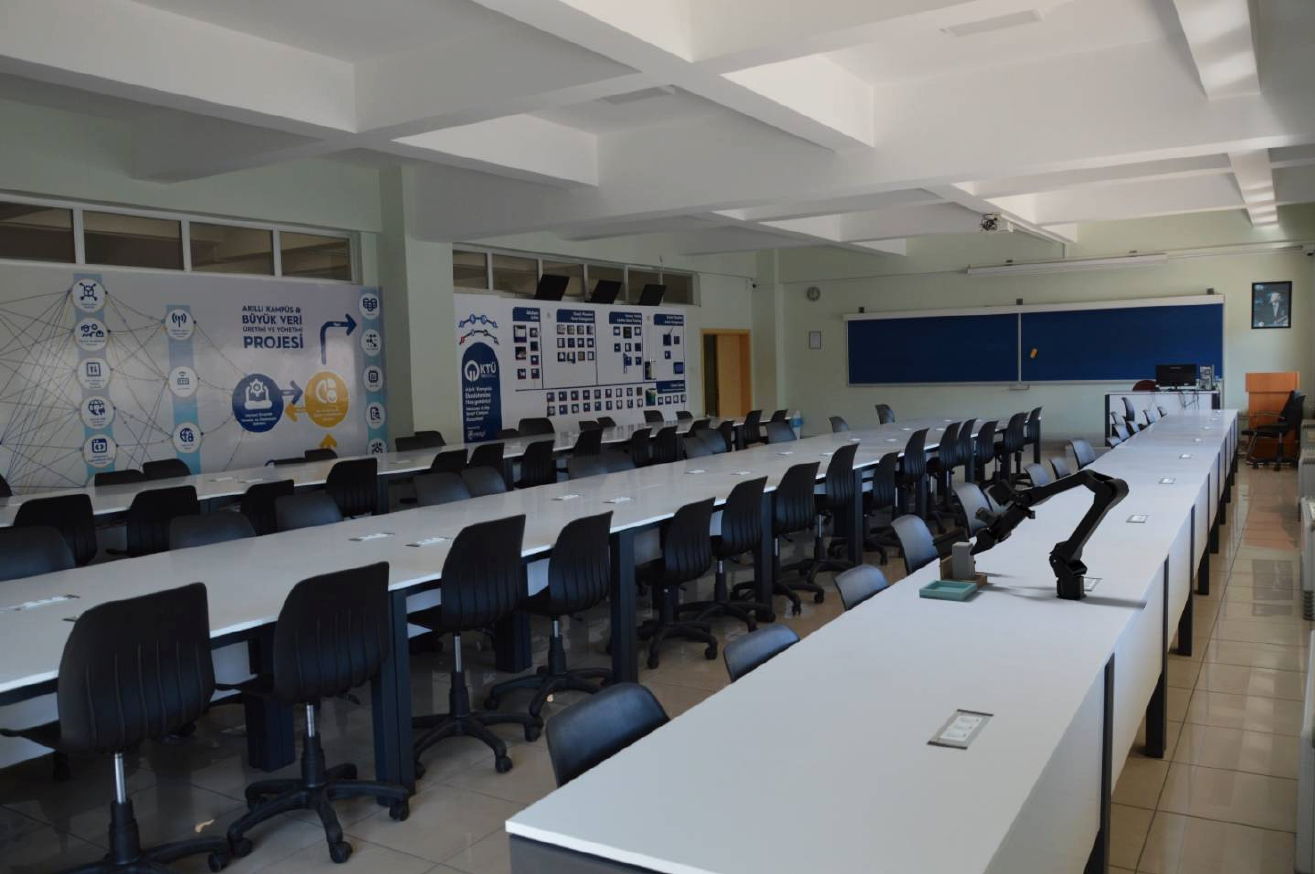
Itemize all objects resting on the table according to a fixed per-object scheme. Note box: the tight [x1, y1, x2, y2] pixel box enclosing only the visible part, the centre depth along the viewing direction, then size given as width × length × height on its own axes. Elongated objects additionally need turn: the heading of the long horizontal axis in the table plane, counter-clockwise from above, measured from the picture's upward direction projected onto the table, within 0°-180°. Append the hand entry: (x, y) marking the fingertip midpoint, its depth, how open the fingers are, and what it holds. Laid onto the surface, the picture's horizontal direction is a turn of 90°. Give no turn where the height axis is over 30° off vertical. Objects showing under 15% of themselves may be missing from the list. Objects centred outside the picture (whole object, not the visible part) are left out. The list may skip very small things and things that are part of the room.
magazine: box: [931, 526, 977, 572], centre depth 324 cm, size 4×13×15 cm, turn 60°
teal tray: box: [918, 579, 978, 602], centre depth 294 cm, size 13×14×2 cm
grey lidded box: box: [952, 542, 976, 581], centre depth 304 cm, size 5×6×13 cm
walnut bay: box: [939, 555, 988, 590], centre depth 304 cm, size 11×12×8 cm
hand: (975, 552), depth 302 cm, fingers open, 9 cm apart
